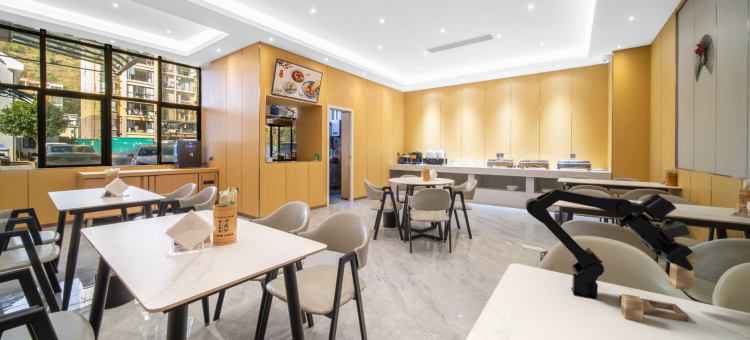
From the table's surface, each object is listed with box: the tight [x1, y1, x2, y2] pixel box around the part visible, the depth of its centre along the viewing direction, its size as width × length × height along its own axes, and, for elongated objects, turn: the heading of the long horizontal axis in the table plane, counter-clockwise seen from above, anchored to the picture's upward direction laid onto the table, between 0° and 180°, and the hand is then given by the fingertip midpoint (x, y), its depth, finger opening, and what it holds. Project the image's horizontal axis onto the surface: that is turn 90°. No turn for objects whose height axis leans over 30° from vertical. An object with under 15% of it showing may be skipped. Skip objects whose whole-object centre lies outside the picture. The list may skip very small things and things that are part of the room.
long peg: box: [668, 251, 696, 292], centre depth 93 cm, size 4×4×12 cm
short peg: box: [620, 293, 644, 323], centre depth 89 cm, size 4×4×6 cm
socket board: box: [619, 294, 689, 322], centre depth 93 cm, size 14×8×2 cm, turn 64°
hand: (687, 267), depth 92 cm, fingers closed on long peg, 4 cm apart
